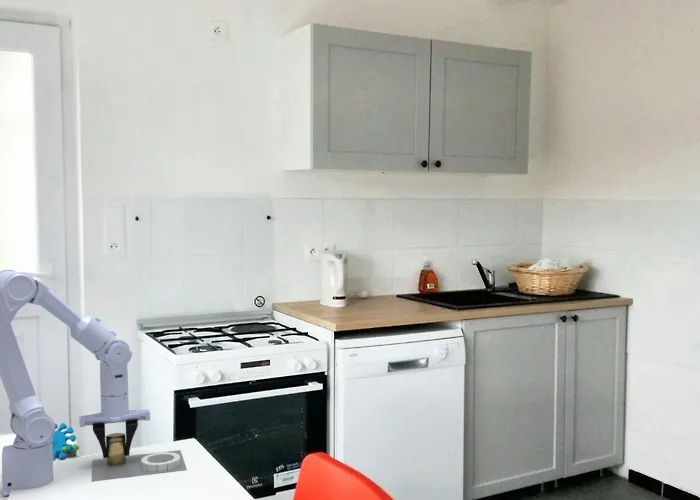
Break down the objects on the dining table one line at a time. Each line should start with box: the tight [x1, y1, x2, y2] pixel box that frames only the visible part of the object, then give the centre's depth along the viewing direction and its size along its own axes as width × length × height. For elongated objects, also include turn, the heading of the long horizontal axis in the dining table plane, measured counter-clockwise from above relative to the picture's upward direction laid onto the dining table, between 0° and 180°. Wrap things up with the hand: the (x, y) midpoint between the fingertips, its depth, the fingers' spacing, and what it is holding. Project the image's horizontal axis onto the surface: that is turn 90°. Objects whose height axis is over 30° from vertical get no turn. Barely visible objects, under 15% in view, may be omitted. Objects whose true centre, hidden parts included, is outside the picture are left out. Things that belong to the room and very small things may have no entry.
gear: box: [52, 422, 80, 462], centre depth 167 cm, size 11×6×10 cm
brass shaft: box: [105, 432, 126, 466], centre depth 160 cm, size 4×4×6 cm
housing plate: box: [91, 449, 188, 483], centre depth 159 cm, size 19×14×2 cm
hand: (116, 455), depth 160 cm, fingers closed on brass shaft, 4 cm apart
